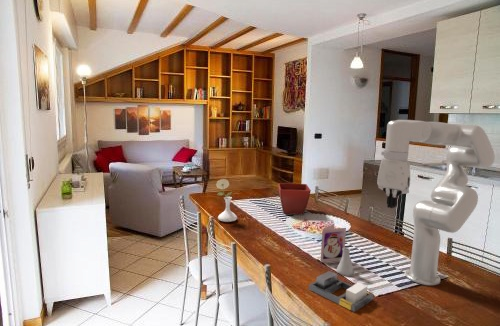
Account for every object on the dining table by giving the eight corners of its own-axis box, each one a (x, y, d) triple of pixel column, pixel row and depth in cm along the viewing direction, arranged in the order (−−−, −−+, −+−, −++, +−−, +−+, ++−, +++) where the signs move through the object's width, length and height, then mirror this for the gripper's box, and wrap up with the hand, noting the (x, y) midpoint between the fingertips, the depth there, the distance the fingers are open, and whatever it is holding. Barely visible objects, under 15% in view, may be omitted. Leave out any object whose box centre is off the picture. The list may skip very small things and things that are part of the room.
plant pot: (309, 216, 219) (311, 190, 216) (279, 215, 219) (280, 189, 216) (305, 208, 238) (306, 183, 235) (277, 207, 238) (278, 183, 235)
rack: (328, 279, 137) (328, 267, 136) (372, 299, 123) (374, 286, 122) (308, 289, 129) (309, 276, 128) (354, 312, 115) (355, 298, 114)
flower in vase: (238, 218, 211) (239, 177, 208) (235, 224, 200) (236, 181, 196) (217, 216, 213) (217, 176, 209) (213, 222, 201) (213, 180, 198)
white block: (357, 295, 126) (358, 282, 125) (366, 299, 123) (367, 286, 123) (345, 303, 121) (346, 289, 120) (354, 307, 118) (355, 293, 117)
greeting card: (321, 263, 151) (323, 230, 149) (313, 256, 158) (315, 224, 156) (344, 260, 154) (347, 228, 152) (336, 254, 162) (338, 223, 159)
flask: (340, 266, 149) (342, 244, 147) (356, 271, 144) (358, 248, 143) (332, 272, 143) (334, 249, 142) (349, 278, 139) (351, 254, 137)
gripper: (370, 154, 125) (366, 204, 127) (413, 159, 114) (407, 214, 116) (381, 153, 130) (377, 201, 132) (422, 158, 119) (417, 210, 121)
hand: (391, 207), depth 124 cm, fingers closed
